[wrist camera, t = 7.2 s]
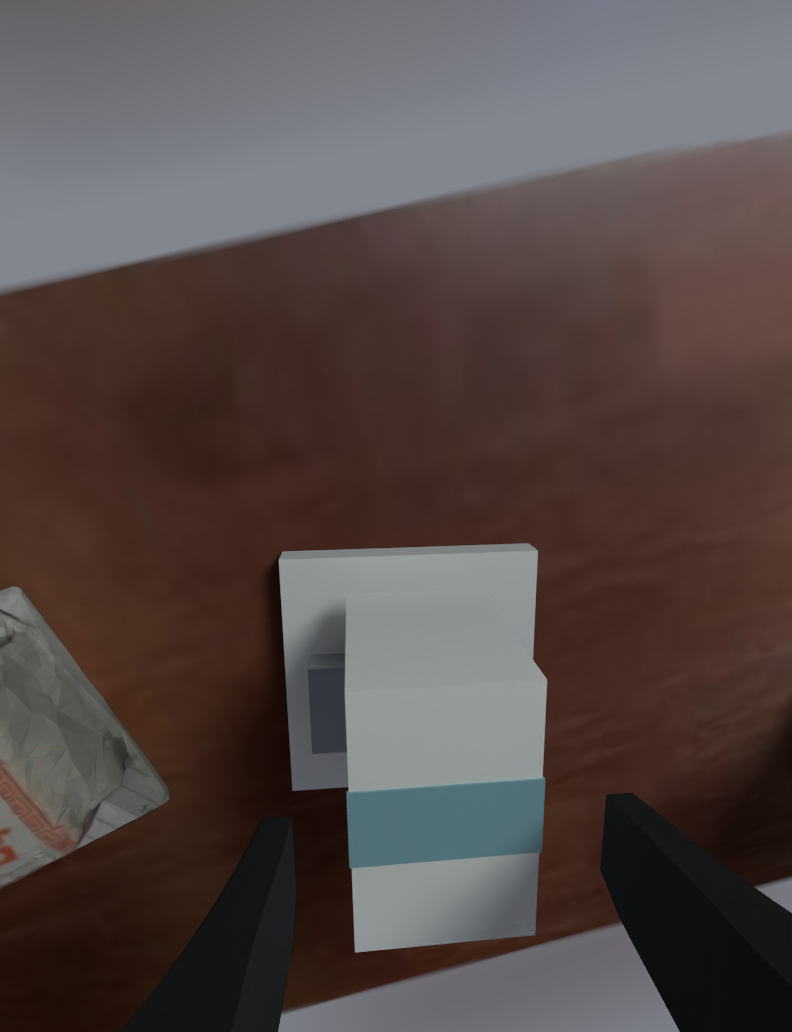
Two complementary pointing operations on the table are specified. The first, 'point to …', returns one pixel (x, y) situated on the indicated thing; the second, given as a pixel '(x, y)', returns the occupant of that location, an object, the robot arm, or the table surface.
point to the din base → (336, 573)
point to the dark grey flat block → (327, 703)
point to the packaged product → (59, 750)
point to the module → (441, 770)
